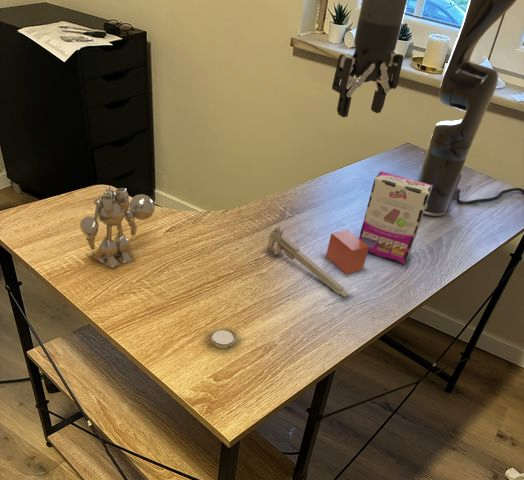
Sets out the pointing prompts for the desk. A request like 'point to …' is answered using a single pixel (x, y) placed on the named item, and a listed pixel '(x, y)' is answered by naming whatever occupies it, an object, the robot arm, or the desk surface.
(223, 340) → the ridged bottle cap
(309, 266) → the caliper
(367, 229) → the candy bar box
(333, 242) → the block
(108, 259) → the robot toy
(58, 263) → the desk surface
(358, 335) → the desk surface
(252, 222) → the desk surface
